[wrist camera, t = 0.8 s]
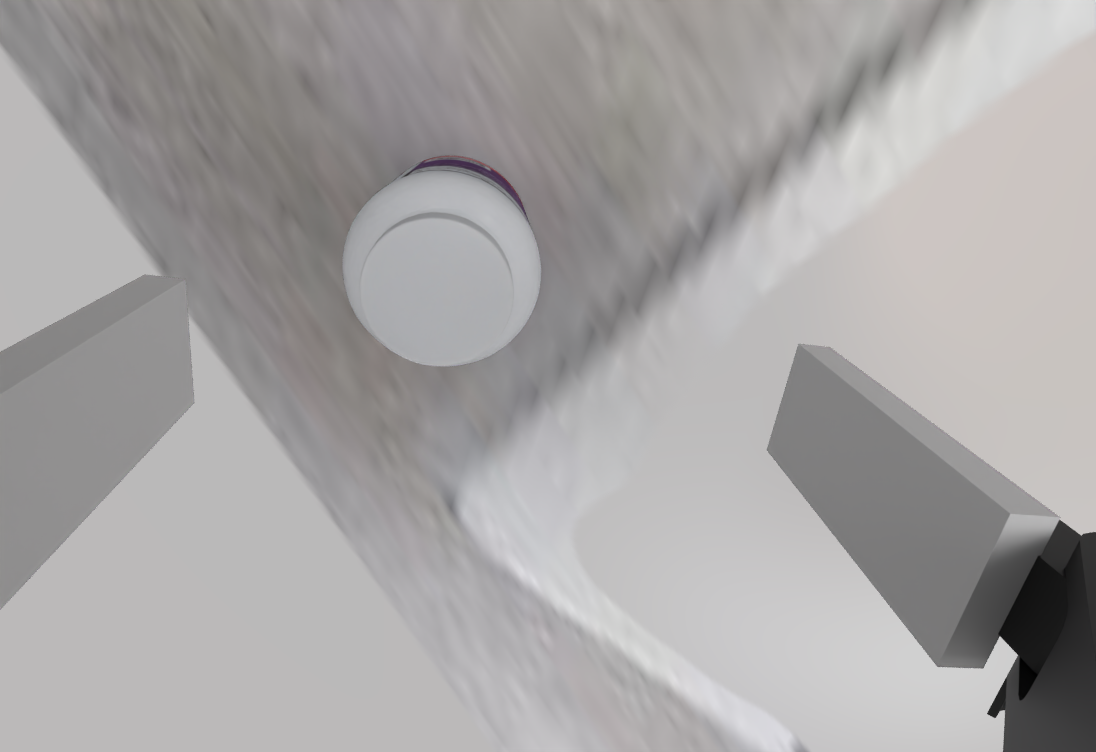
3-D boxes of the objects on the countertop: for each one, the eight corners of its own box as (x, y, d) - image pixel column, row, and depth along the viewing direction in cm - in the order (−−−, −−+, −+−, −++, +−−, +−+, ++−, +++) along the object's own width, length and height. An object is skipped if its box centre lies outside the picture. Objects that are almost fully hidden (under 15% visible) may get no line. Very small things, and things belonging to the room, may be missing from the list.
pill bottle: (434, 323, 39) (405, 436, 26) (352, 203, 36) (271, 260, 23) (554, 253, 38) (587, 333, 25) (478, 123, 35) (471, 134, 22)
